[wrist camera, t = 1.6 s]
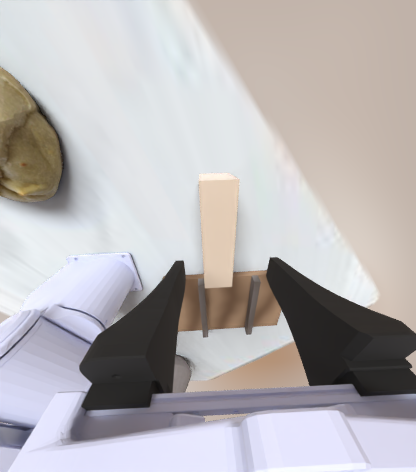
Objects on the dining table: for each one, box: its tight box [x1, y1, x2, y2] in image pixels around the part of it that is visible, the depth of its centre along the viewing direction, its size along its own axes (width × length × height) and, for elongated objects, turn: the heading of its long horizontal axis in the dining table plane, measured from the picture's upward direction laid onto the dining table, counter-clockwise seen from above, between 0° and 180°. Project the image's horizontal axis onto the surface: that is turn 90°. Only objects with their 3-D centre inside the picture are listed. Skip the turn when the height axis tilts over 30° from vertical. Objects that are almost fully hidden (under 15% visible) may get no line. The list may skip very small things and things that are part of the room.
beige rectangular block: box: [199, 173, 239, 288], centre depth 18 cm, size 4×13×6 cm, turn 2°
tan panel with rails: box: [162, 270, 281, 337], centre depth 28 cm, size 22×15×2 cm
